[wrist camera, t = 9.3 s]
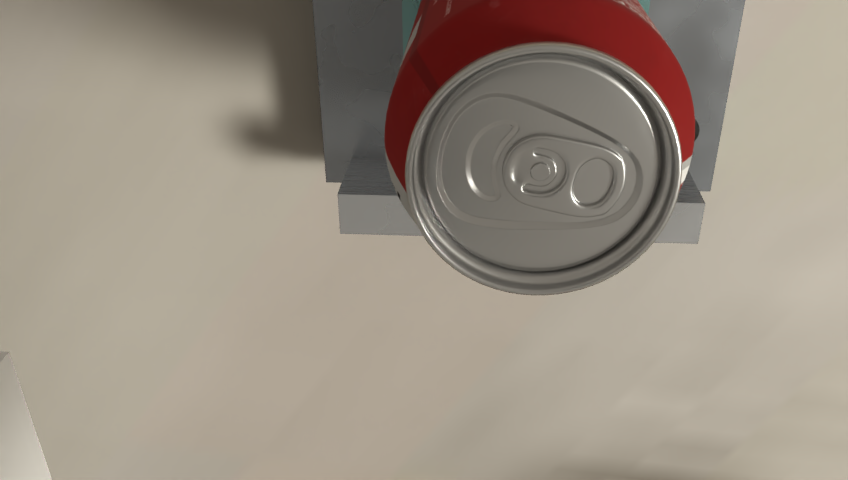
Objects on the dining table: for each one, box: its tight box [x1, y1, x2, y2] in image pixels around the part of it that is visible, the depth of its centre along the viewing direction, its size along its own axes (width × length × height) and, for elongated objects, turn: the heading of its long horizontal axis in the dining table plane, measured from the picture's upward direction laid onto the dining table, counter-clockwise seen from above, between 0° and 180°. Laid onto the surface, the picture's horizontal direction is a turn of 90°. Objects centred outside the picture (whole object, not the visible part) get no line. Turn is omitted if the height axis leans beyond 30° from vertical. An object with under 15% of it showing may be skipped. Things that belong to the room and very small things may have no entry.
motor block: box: [312, 0, 745, 244], centre depth 26 cm, size 14×13×6 cm
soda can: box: [384, 0, 695, 295], centre depth 21 cm, size 7×7×12 cm
